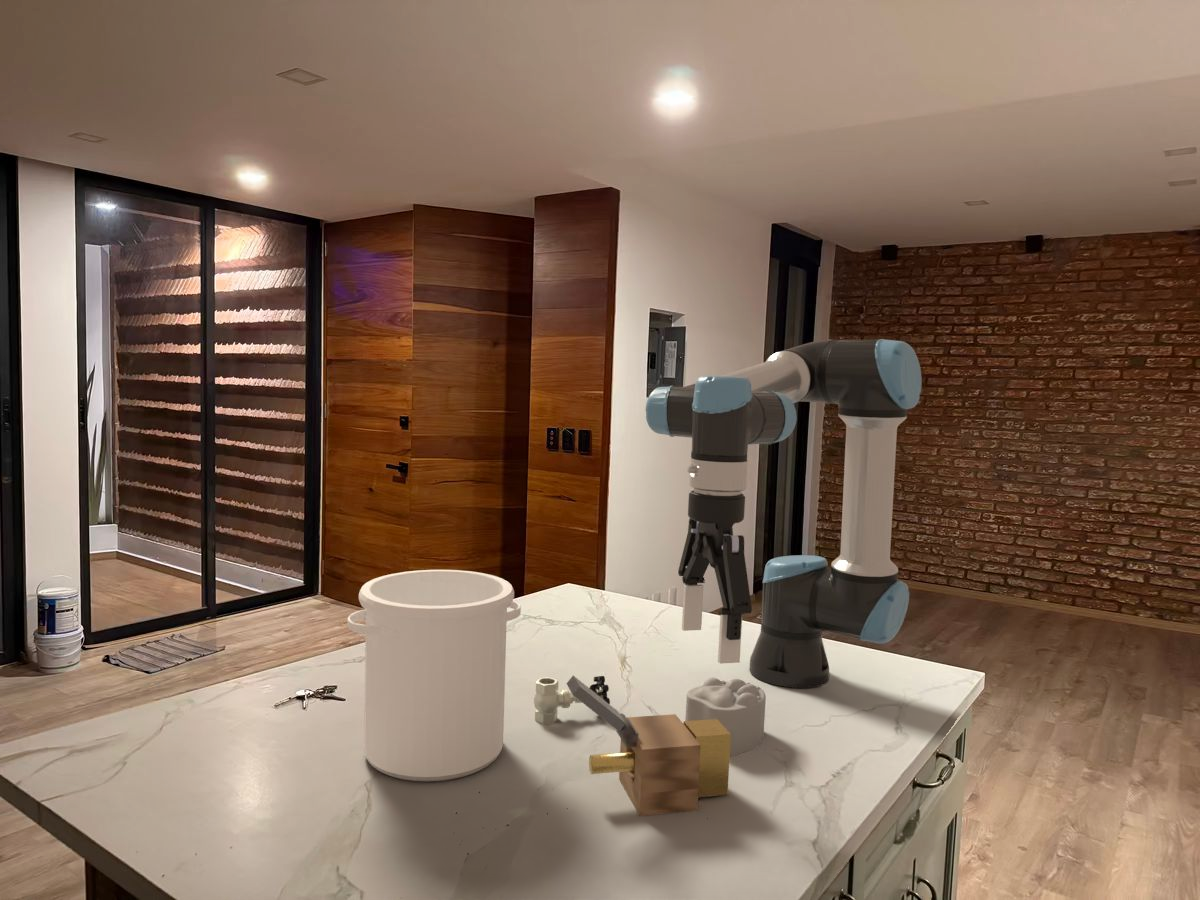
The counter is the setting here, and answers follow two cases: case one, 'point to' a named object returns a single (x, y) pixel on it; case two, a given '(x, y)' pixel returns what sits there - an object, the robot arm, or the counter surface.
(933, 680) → the counter surface
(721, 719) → the lumpy-topped squat cylinder
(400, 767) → the bucket
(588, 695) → the lever
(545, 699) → the valve
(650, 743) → the block
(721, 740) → the pin
